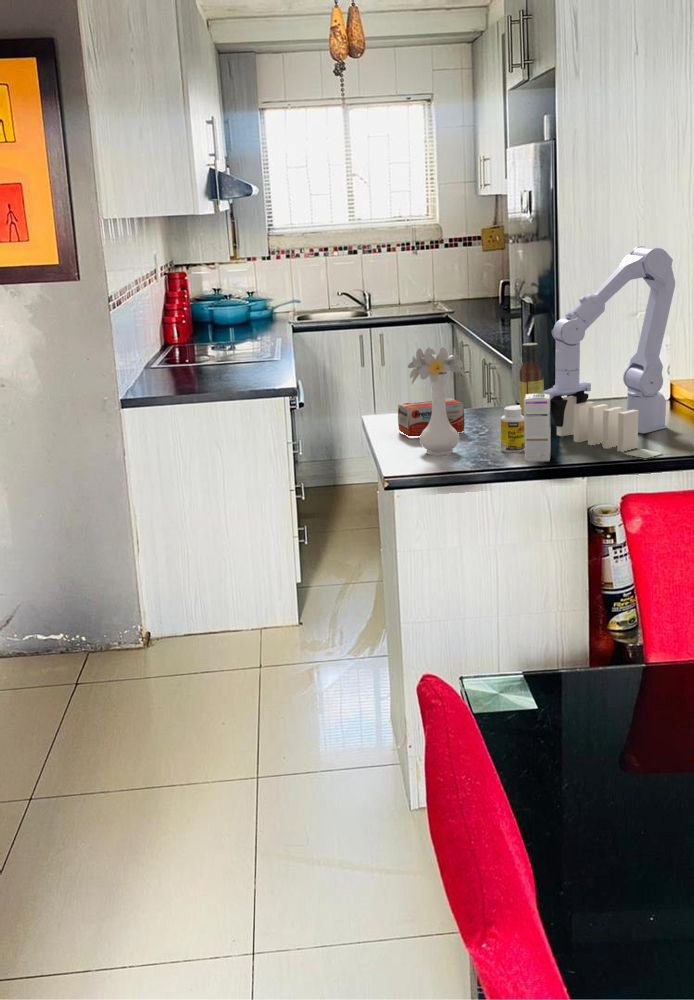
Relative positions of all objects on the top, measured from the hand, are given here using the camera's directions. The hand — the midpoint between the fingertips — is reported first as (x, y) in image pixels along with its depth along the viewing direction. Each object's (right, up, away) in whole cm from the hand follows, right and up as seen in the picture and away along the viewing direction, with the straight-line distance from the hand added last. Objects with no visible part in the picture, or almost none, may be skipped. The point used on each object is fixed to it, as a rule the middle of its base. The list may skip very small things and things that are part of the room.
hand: (566, 424), depth 258 cm
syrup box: (-10, -9, -18) cm, 23 cm away
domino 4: (+9, -6, -11) cm, 15 cm away
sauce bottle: (-5, +3, +21) cm, 22 cm away
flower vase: (-32, -7, -9) cm, 34 cm away
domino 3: (+6, -5, -7) cm, 10 cm away
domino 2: (+3, -4, -3) cm, 6 cm away
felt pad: (+13, -8, -19) cm, 25 cm away
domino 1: (0, -2, +1) cm, 2 cm away
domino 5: (+11, -7, -14) cm, 19 cm away
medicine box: (-32, -2, +11) cm, 34 cm away
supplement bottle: (-15, -7, -10) cm, 19 cm away
